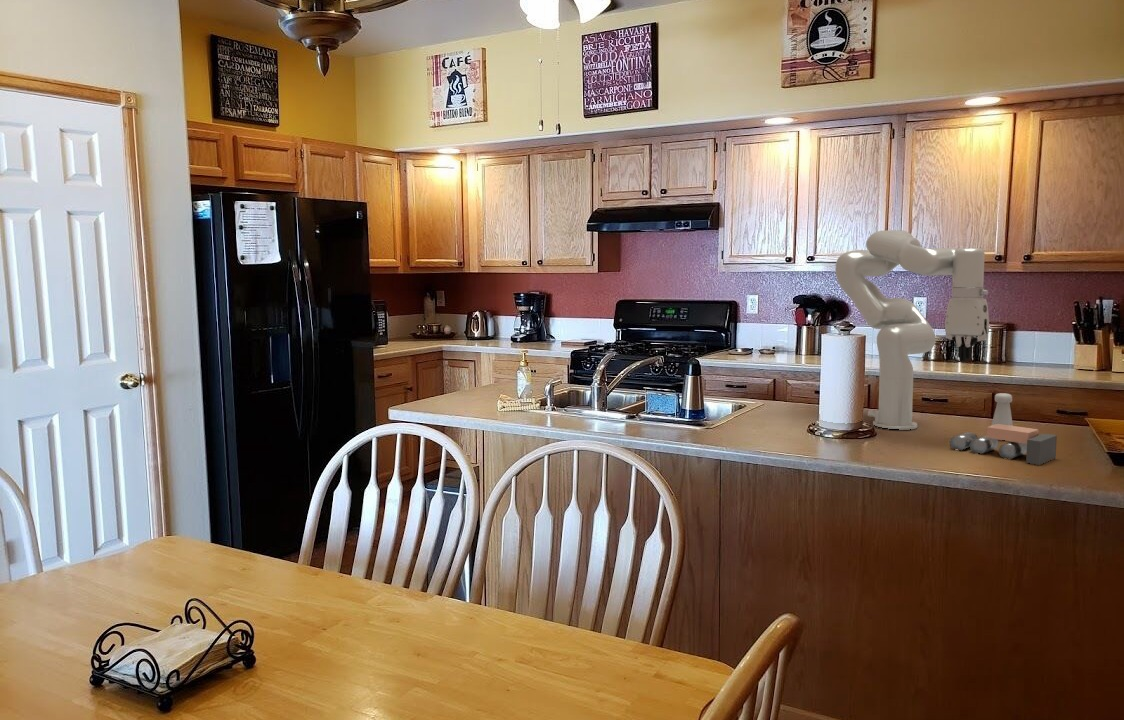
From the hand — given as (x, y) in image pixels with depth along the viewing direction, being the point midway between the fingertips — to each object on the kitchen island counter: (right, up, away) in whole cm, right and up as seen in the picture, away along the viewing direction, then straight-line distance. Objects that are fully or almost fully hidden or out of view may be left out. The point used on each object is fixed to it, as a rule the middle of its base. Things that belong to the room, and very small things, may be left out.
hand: (964, 360), depth 214 cm
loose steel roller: (+6, -25, -12) cm, 28 cm away
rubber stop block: (+10, -25, -18) cm, 32 cm away
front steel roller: (+1, -24, -6) cm, 25 cm away
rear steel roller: (-2, -24, -2) cm, 24 cm away
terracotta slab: (+6, -20, -13) cm, 24 cm away
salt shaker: (+14, -22, +7) cm, 27 cm away
